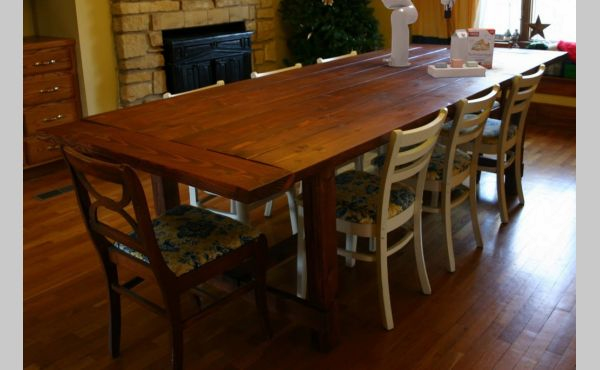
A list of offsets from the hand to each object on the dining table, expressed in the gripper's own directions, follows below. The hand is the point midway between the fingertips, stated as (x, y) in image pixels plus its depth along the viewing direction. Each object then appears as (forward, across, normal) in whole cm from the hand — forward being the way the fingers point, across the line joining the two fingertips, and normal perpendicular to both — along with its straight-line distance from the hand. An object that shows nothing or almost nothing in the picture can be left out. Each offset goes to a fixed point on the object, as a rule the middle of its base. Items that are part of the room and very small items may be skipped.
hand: (447, 18), depth 325 cm
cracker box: (+27, -4, +20) cm, 34 cm away
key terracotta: (+24, +14, +2) cm, 28 cm away
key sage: (+26, +14, +10) cm, 31 cm away
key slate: (+26, +14, -6) cm, 30 cm away
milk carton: (+27, -20, +14) cm, 37 cm away
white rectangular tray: (+27, +14, +2) cm, 31 cm away
